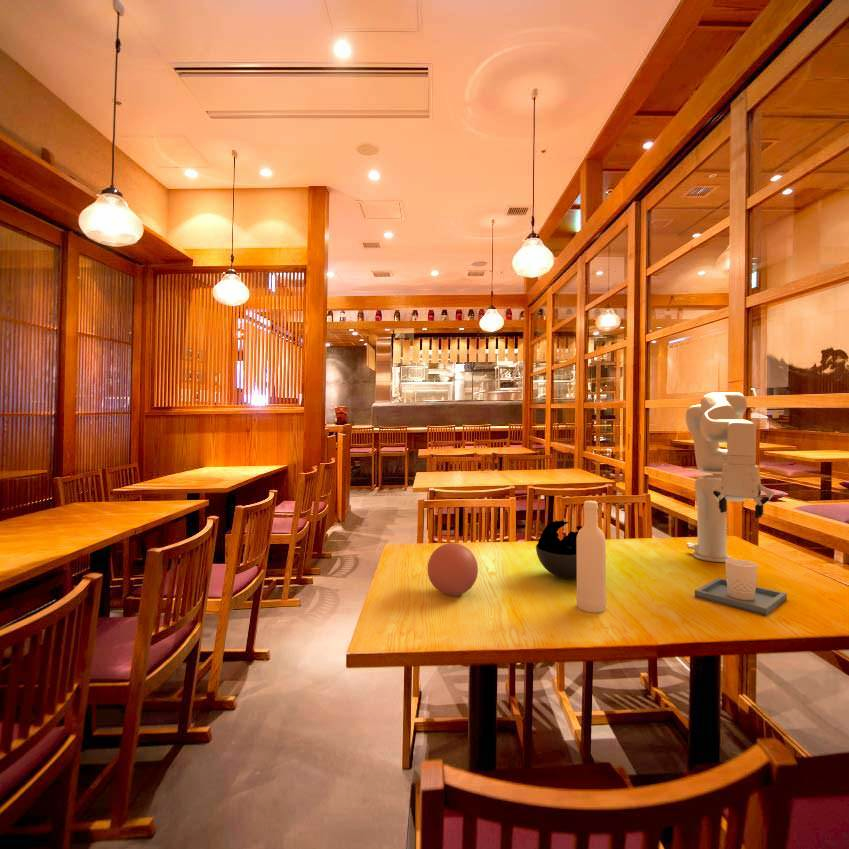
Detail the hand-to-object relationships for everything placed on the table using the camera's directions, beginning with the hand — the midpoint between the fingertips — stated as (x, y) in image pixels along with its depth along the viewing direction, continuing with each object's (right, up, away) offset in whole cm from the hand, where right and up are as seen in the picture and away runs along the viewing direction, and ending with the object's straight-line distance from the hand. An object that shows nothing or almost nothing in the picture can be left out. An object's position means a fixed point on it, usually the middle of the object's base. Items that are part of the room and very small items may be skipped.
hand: (740, 514), depth 150 cm
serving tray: (-6, -23, -9) cm, 26 cm away
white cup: (-6, -23, -9) cm, 25 cm away
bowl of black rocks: (-52, -23, +11) cm, 58 cm away
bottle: (-53, -24, -16) cm, 60 cm away
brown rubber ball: (-92, -24, -2) cm, 95 cm away
